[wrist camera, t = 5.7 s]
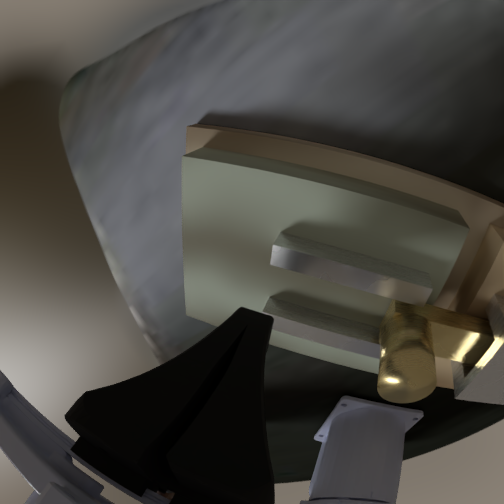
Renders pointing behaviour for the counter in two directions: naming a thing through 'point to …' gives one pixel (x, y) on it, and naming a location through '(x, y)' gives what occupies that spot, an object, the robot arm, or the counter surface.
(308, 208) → the door and jamb
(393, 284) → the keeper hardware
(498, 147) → the counter surface
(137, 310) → the counter surface
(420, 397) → the bolt
